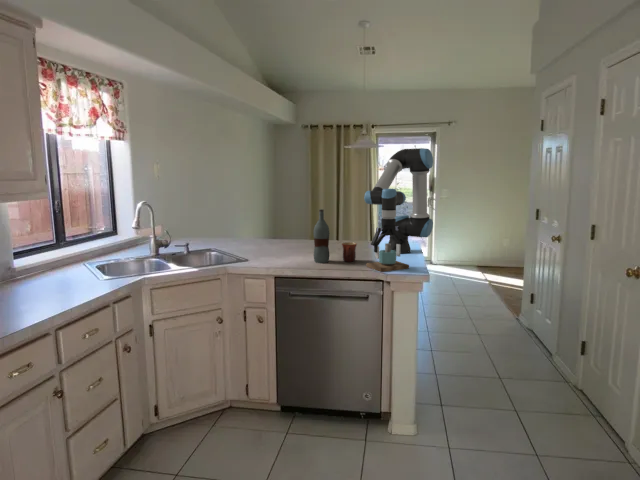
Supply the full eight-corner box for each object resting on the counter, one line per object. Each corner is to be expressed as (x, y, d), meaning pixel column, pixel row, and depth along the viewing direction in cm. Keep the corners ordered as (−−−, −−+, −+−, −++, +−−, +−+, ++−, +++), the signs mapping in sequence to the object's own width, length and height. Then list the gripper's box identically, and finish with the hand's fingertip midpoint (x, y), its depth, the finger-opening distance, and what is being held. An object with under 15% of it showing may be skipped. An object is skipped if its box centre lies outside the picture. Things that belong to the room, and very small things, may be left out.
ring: (389, 260, 250) (389, 249, 249) (398, 262, 242) (399, 251, 241) (376, 261, 246) (376, 250, 245) (385, 264, 238) (385, 253, 237)
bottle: (326, 263, 254) (326, 210, 250) (311, 262, 258) (310, 210, 253) (331, 260, 263) (331, 209, 258) (316, 259, 266) (316, 208, 261)
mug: (342, 259, 267) (342, 242, 265) (357, 259, 265) (357, 242, 263) (339, 263, 255) (339, 245, 254) (355, 264, 254) (355, 246, 252)
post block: (393, 263, 255) (394, 240, 252) (409, 268, 242) (409, 244, 240) (366, 266, 247) (366, 243, 245) (380, 272, 234) (381, 247, 232)
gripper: (403, 216, 249) (402, 254, 252) (364, 218, 238) (364, 258, 242) (412, 217, 242) (410, 256, 246) (372, 219, 231) (371, 260, 235)
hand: (387, 257), depth 244 cm, fingers open, 13 cm apart
